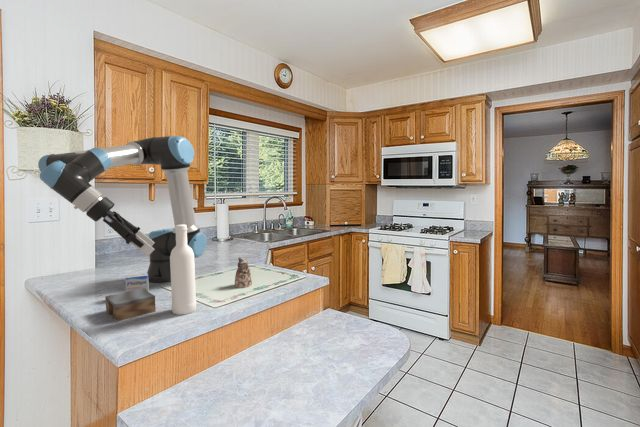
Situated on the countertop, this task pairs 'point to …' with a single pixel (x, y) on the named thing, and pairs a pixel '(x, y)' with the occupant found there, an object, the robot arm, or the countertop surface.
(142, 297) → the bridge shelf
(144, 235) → the robot arm
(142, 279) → the medicine box
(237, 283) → the figurine
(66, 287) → the countertop surface
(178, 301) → the bottle
